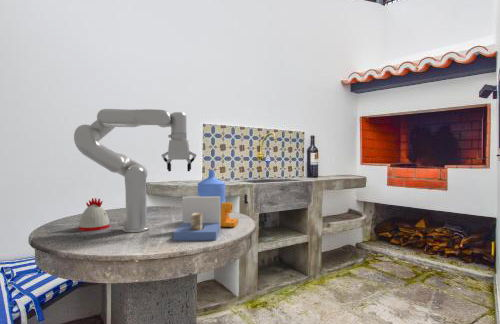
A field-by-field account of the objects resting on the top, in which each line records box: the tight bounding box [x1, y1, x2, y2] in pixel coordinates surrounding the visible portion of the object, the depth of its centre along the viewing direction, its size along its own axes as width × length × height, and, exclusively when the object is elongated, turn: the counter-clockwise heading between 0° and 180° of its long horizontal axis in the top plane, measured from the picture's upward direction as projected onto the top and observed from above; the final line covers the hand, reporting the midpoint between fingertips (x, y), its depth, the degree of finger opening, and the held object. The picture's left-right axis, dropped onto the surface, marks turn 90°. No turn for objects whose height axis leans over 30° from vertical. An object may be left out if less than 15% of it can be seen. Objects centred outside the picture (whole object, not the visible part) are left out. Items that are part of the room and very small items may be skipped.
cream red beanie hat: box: [78, 197, 111, 232], centre depth 155 cm, size 14×14×15 cm
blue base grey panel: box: [172, 196, 221, 242], centre depth 140 cm, size 18×20×16 cm
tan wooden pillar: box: [191, 213, 203, 230], centre depth 138 cm, size 4×6×10 cm, turn 179°
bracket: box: [220, 201, 239, 228], centre depth 158 cm, size 11×7×12 cm, turn 168°
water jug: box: [196, 169, 226, 214], centre depth 173 cm, size 16×16×28 cm
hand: (179, 171), depth 155 cm, fingers open, 9 cm apart
